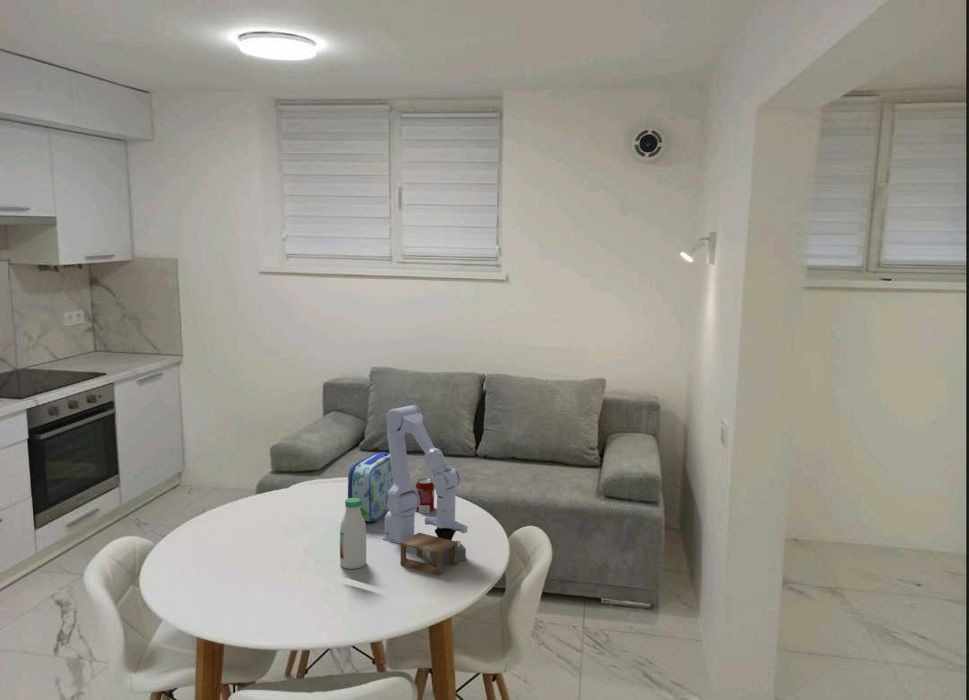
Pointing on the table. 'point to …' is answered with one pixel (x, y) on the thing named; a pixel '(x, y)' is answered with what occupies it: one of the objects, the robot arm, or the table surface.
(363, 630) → the table surface
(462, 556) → the grey rectangular block
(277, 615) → the table surface
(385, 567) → the table surface
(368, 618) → the table surface
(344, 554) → the milk bottle
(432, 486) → the soda can
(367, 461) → the lunch box
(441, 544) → the wooden footstool
